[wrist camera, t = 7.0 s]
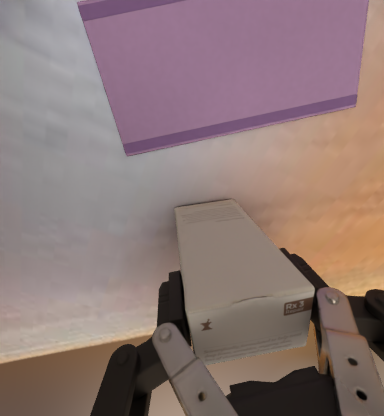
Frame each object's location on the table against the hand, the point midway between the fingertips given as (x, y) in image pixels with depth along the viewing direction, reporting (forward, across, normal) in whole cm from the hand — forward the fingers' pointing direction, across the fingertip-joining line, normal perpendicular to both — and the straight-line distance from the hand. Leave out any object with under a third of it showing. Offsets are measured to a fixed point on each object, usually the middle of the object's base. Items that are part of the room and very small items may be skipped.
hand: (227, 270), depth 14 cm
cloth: (+8, -4, -12) cm, 15 cm away
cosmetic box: (+8, 0, 0) cm, 8 cm away
